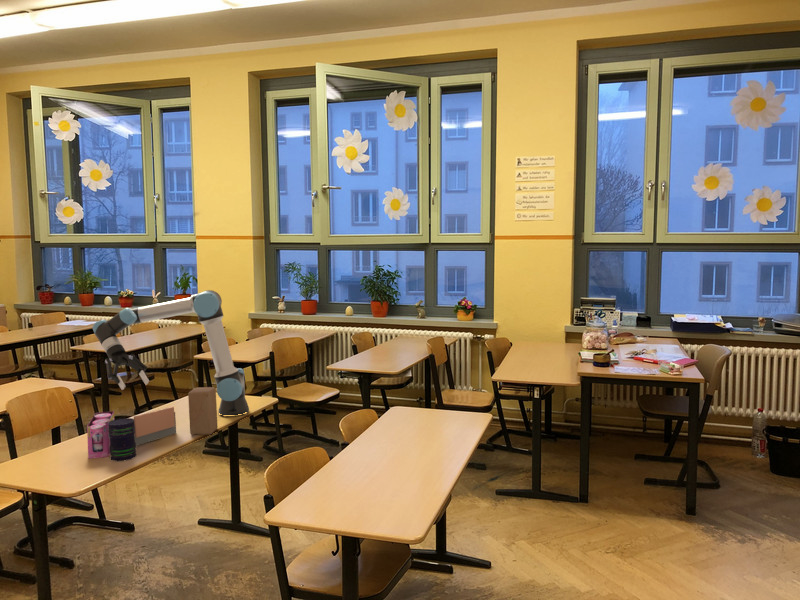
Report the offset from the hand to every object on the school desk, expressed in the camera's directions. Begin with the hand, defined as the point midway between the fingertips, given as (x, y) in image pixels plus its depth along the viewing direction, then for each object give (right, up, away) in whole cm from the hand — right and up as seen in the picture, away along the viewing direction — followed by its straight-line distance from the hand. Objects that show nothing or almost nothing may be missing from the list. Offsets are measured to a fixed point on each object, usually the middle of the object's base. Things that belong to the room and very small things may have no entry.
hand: (135, 385), depth 279 cm
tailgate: (+11, -20, -5) cm, 23 cm away
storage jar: (+6, -26, -26) cm, 38 cm away
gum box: (-7, -25, -16) cm, 31 cm away
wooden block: (+29, -23, +6) cm, 37 cm away
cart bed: (+7, -23, -2) cm, 24 cm away
